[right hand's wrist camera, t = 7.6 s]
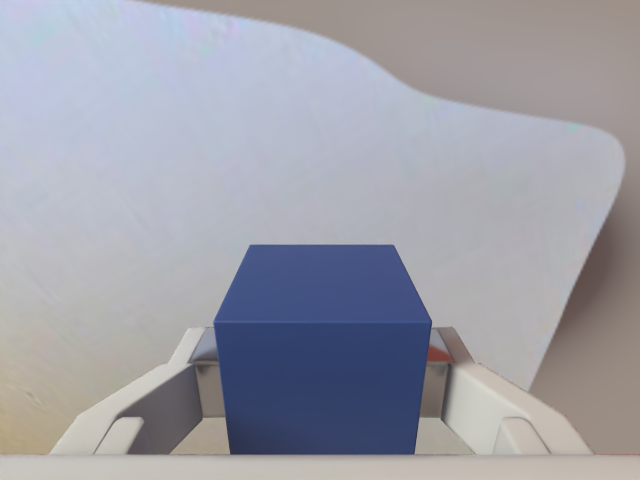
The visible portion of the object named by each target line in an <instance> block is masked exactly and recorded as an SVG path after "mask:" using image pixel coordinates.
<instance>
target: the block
mask: <svg viewBox="0 0 640 480" xmlns="http://www.w3.org/2000/svg"><path fill="white" fill-rule="evenodd" d="M213 324H214V331H215V339H216V347H217V355H218V363H219V370H220V378H221V386H222V394H223V401H224V409H225V417H226V425H227V432H228V440H229V448H230V455H306V454H414V453H415V446H416V438H417V431H418V423H419V416H420V408H421V401H422V394H423V386H424V379H425V371H426V364H427V357H428V349H429V342H430V334H431V327H432V320H431V318H430V316H429V314H428V312H427V310H426V308H425V306H424V304H423V302H422V300H421V298H420V296H419V294H418V292H417V290H416V288H415V286H414V284H413V282H412V280H411V278H410V276H409V274H408V272H407V270H406V268H405V266H404V264H403V262H402V260H401V258H400V256H399V254H398V252H397V250H396V248H395V246H394V245H250V246H249V248H248V250H247V252H246V254H245V257H244V259H243V261H242V263H241V265H240V267H239V269H238V271H237V273H236V275H235V277H234V280H233V282H232V284H231V286H230V288H229V290H228V292H227V294H226V296H225V298H224V300H223V303H222V305H221V307H220V309H219V311H218V313H217V315H216V317H215V319H214V322H213Z"/></svg>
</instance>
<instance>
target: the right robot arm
mask: <svg viewBox="0 0 640 480" xmlns="http://www.w3.org/2000/svg"><path fill="white" fill-rule="evenodd" d="M212 417H225V409H224V401H223V394H222V386H221V378H220V370H219V363H218V355H217V347H216V339H215V331H214V327H208V328H207V327H191V328H189V329H188V330H187V331H186V333H185V335H184V337H183V338H182V340H181V342H180V344H179V345H178V347H177V349H176V350H175V352H174V354H173V356H172V357H171V359H170V361H169V363H163V364H161V365H159V366H158V367H156V368H155V369H153V370H151V371H150V372H148V373H146V374H145V375H143V376H142V377H140V378H138V379H137V380H135V381H133V382H132V383H130V384H128V385H127V386H125V387H124V388H122V389H120V390H119V391H117V392H115V393H114V394H112V395H111V396H109V397H107V398H106V399H104V400H102V401H101V402H99V403H98V404H96V405H94V406H93V407H91V408H89V409H88V410H86V411H85V412H83V413H81V414H80V415H78V416H77V418H76V419H75V420H74V422H73V423H72V424H71V426H70V427H69V428H68V429H67V431H66V432H65V433H64V435H63V436H62V437H61V439H60V440H59V441H58V442H57V444H56V445H55V446H54V448H53V449H52V450H51V452H50V453H49V454H48V455H15V454H0V480H640V454H596V453H595V452H594V451H593V449H592V448H591V447H590V445H589V444H588V443H587V442H586V440H585V439H584V438H583V436H582V435H581V434H580V433H579V431H578V430H577V429H576V427H575V426H574V425H573V424H572V422H571V421H570V420H569V418H568V417H567V416H566V415H564V414H563V413H561V412H559V411H558V410H556V409H554V408H553V407H551V406H550V405H548V404H546V403H545V402H543V401H541V400H540V399H538V398H536V397H535V396H533V395H531V394H530V393H528V392H527V391H525V390H523V389H522V388H520V387H518V386H517V385H515V384H514V383H512V382H510V381H509V380H507V379H505V378H504V377H502V376H500V375H499V374H497V373H496V372H494V371H492V370H491V369H489V368H487V367H486V366H484V365H482V364H481V363H475V362H474V360H473V359H472V357H471V355H470V353H469V352H468V350H467V348H466V347H465V345H464V343H463V342H462V340H461V338H460V337H459V335H458V333H457V332H456V330H455V329H454V328H453V327H435V328H431V334H430V342H429V349H428V357H427V364H426V371H425V379H424V386H423V394H422V401H421V408H420V416H419V417H431V418H441V420H442V421H443V422H444V423H445V424H446V425H447V426H448V427H449V428H450V429H451V430H452V431H453V432H454V433H455V434H456V435H457V436H458V437H459V438H460V439H461V440H462V441H463V443H464V444H465V445H466V446H467V447H468V448H469V449H470V450H471V451H472V452H473V453H474V454H475V455H443V454H306V455H168V454H169V453H170V452H171V451H172V450H173V449H174V448H175V447H176V446H177V445H178V444H179V443H180V442H181V441H182V440H183V439H184V438H185V437H186V436H187V435H188V434H189V433H190V432H191V431H192V430H193V429H194V428H195V427H196V426H197V425H198V424H199V423H200V422H201V421H202V418H212Z"/></svg>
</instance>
